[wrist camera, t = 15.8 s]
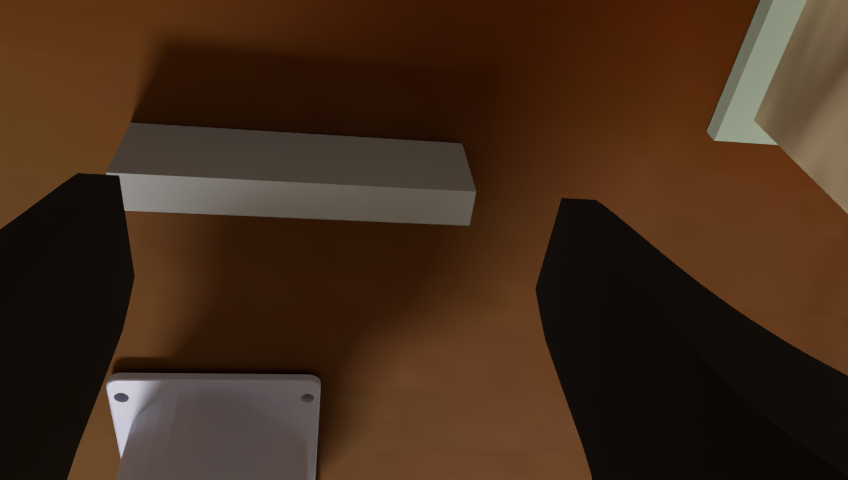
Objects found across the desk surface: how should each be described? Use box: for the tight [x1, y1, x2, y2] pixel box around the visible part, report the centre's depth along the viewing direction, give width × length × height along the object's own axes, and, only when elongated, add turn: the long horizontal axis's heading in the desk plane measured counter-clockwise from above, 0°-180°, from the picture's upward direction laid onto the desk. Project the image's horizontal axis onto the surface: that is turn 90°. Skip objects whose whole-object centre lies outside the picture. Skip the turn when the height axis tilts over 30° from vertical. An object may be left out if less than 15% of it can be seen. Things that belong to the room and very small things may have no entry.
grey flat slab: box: [106, 123, 476, 226], centre depth 18 cm, size 11×10×3 cm
